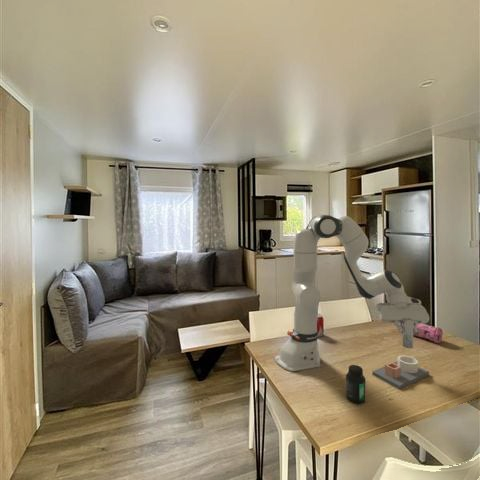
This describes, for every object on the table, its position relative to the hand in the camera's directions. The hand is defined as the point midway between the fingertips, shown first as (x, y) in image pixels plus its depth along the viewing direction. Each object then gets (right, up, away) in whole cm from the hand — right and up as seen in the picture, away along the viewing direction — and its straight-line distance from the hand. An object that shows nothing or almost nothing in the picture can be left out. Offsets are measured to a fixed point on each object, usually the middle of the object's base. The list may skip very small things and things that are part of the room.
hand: (408, 331), depth 118 cm
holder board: (-4, -19, -1) cm, 19 cm away
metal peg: (0, -7, +1) cm, 7 cm away
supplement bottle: (-30, -20, -16) cm, 40 cm away
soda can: (-28, -17, +43) cm, 54 cm away
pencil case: (+30, -16, +37) cm, 50 cm away
